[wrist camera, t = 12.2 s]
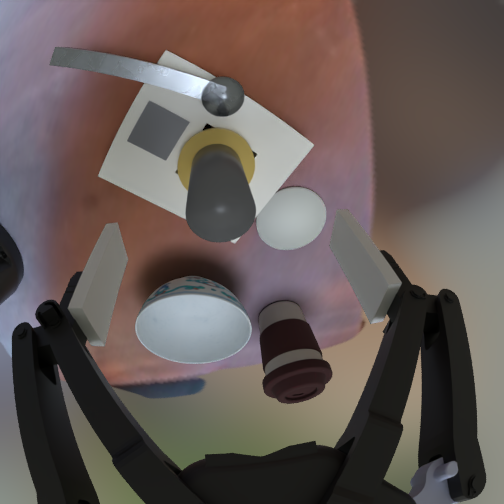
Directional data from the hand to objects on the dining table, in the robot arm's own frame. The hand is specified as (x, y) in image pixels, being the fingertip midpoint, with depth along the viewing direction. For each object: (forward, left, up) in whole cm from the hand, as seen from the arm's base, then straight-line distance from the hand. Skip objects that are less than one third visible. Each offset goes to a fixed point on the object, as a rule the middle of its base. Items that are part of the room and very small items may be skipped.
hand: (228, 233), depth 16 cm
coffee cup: (+23, -17, -16) cm, 32 cm away
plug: (0, 0, -15) cm, 15 cm away
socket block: (-2, 0, -15) cm, 15 cm away
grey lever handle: (-10, +5, -10) cm, 15 cm away
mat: (+12, -2, -15) cm, 20 cm away
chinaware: (+8, -19, -16) cm, 26 cm away
